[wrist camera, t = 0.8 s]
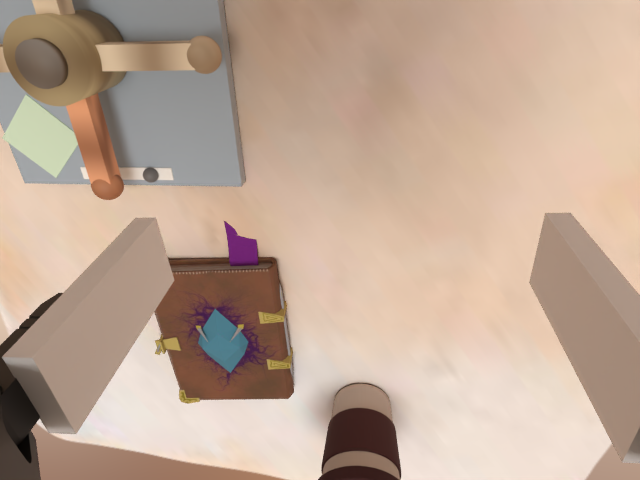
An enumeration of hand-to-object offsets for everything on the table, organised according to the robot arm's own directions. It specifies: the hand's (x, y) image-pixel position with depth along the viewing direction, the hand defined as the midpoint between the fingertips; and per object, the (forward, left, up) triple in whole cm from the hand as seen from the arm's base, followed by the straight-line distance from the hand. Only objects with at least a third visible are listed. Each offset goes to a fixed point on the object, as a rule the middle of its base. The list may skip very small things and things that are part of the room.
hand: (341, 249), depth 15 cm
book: (+25, -16, -26) cm, 40 cm away
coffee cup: (+39, +1, -26) cm, 47 cm away
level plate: (-4, -22, -26) cm, 34 cm away
